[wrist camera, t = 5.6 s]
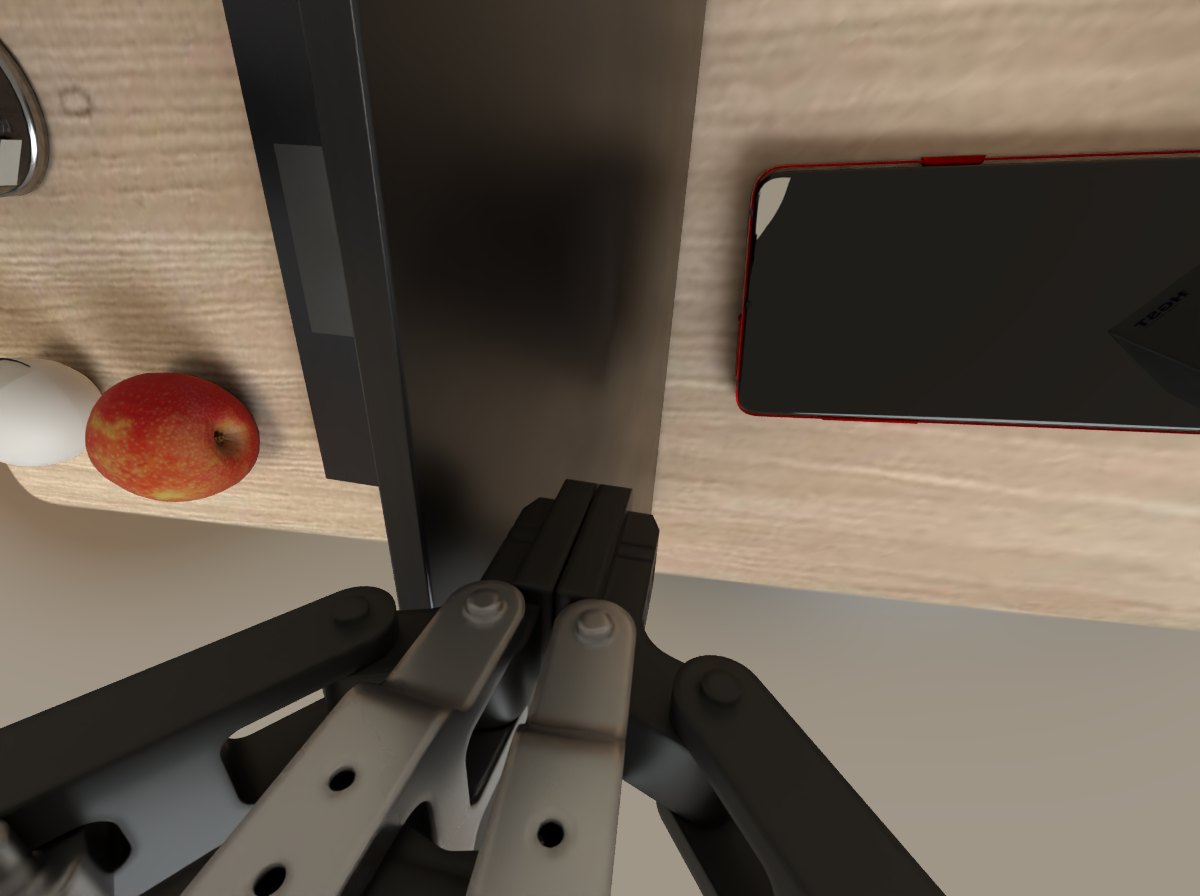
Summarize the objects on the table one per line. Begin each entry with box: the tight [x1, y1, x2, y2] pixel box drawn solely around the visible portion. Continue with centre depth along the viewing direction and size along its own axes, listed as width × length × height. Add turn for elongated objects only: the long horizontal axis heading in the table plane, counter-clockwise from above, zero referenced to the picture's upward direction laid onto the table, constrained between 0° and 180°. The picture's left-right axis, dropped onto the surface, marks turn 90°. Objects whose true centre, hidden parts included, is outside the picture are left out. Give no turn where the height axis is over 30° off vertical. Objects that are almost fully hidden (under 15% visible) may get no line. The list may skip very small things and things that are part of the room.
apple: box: [85, 373, 260, 502], centre depth 35 cm, size 8×8×8 cm
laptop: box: [222, 0, 379, 486], centre depth 29 cm, size 21×30×2 cm
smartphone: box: [735, 150, 1200, 434], centre depth 25 cm, size 12×2×25 cm
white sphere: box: [0, 357, 102, 467], centre depth 37 cm, size 10×7×7 cm
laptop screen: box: [298, 0, 707, 850], centre depth 18 cm, size 21×30×1 cm
